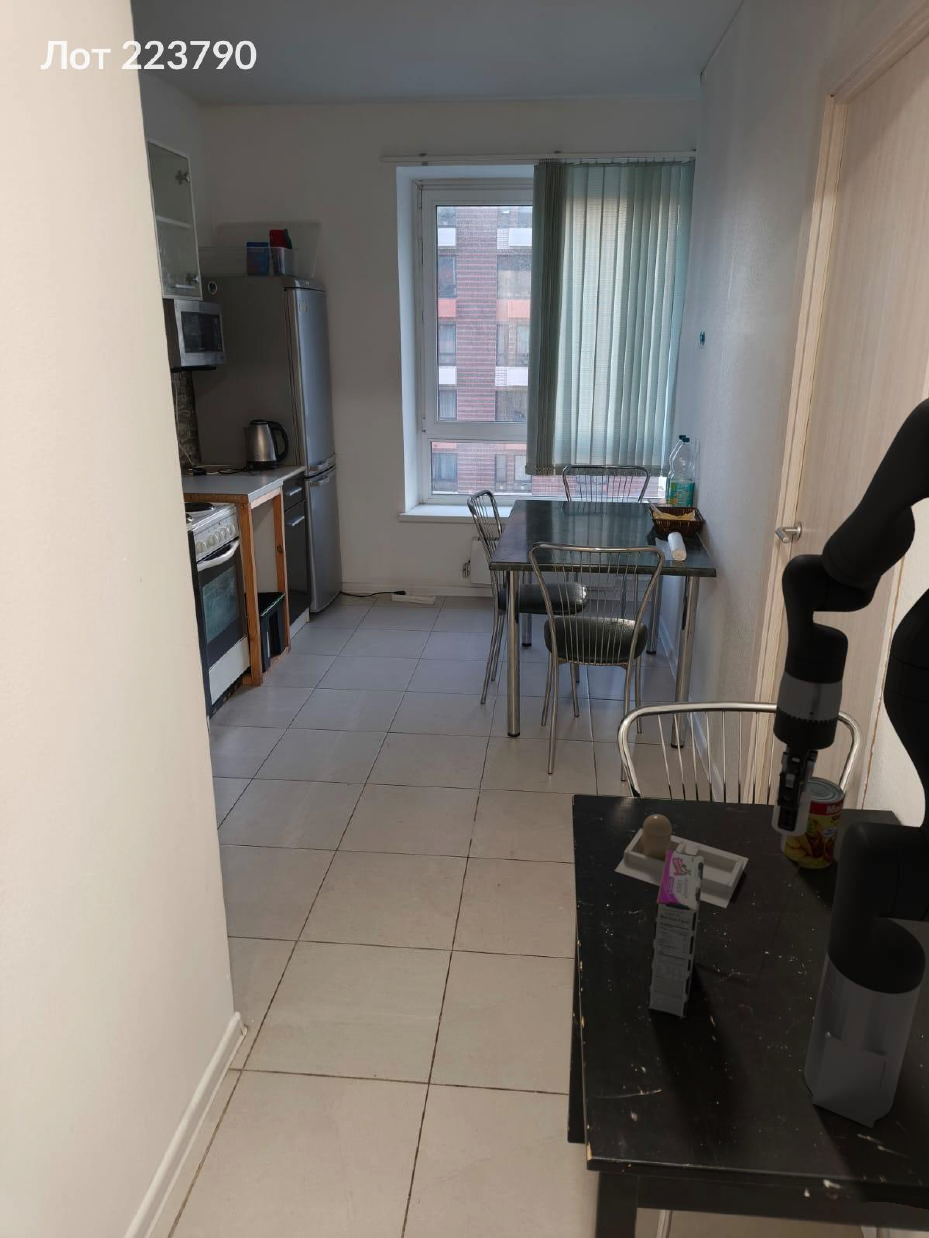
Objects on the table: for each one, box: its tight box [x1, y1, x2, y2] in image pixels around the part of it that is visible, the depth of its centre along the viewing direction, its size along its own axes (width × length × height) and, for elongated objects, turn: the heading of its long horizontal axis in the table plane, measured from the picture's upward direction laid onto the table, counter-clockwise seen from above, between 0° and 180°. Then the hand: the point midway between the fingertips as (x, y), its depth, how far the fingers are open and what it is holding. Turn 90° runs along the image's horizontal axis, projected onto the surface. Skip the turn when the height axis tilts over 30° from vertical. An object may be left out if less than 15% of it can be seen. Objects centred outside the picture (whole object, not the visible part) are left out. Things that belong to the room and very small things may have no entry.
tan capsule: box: [641, 813, 673, 862], centre depth 135 cm, size 4×4×7 cm
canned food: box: [780, 775, 845, 870], centre depth 136 cm, size 8×8×12 cm
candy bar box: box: [647, 850, 704, 1018], centre depth 108 cm, size 11×5×16 cm, turn 161°
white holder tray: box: [614, 827, 749, 909], centre depth 134 cm, size 14×17×2 cm
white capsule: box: [771, 781, 811, 836], centre depth 116 cm, size 4×4×7 cm
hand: (789, 819), depth 116 cm, fingers closed on white capsule, 4 cm apart
